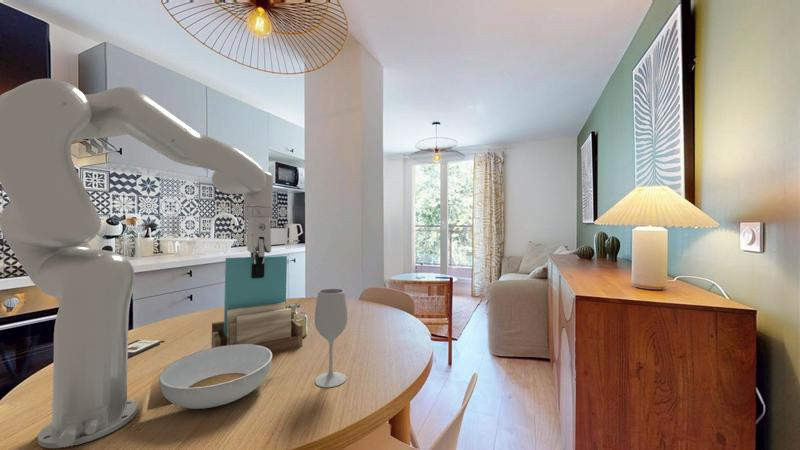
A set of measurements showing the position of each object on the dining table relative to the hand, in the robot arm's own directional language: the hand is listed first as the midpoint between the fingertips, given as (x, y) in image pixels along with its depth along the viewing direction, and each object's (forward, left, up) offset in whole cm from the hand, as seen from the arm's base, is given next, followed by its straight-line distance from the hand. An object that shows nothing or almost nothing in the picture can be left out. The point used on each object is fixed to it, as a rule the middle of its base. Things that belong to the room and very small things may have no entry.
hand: (256, 276), depth 89 cm
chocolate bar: (+21, +31, -22) cm, 43 cm away
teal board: (0, 0, -15) cm, 15 cm away
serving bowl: (-20, +11, -22) cm, 31 cm away
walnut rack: (-2, 0, -22) cm, 22 cm away
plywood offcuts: (-4, 0, -20) cm, 21 cm away
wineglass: (-28, -11, -22) cm, 37 cm away
